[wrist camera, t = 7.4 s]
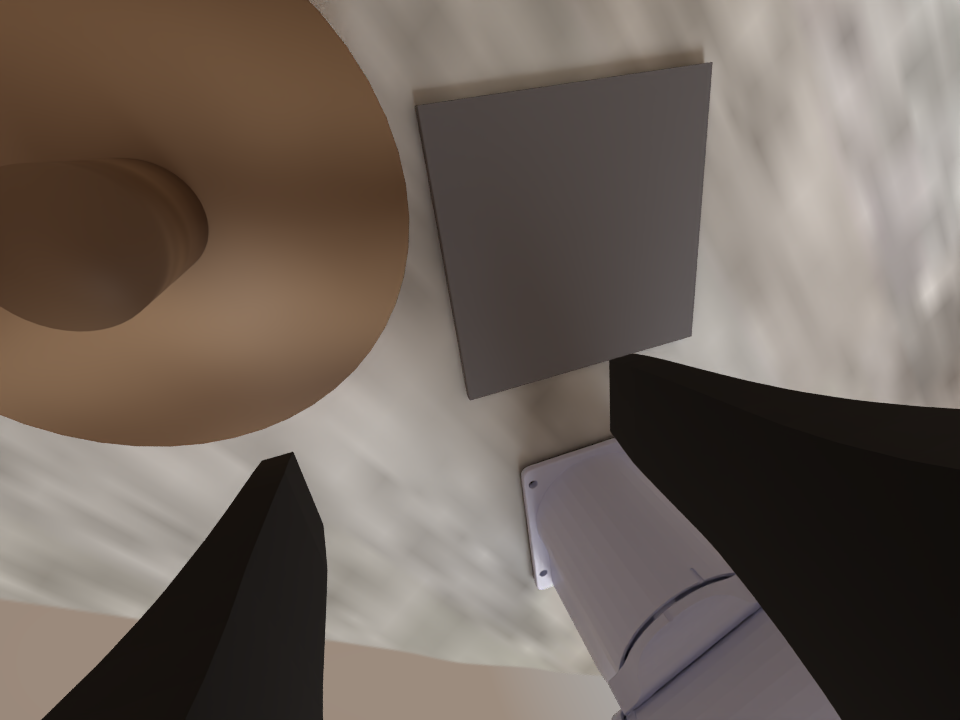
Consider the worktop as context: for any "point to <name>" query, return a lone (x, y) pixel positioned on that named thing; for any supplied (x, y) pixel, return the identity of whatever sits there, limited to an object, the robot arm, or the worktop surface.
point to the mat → (568, 220)
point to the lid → (187, 216)
